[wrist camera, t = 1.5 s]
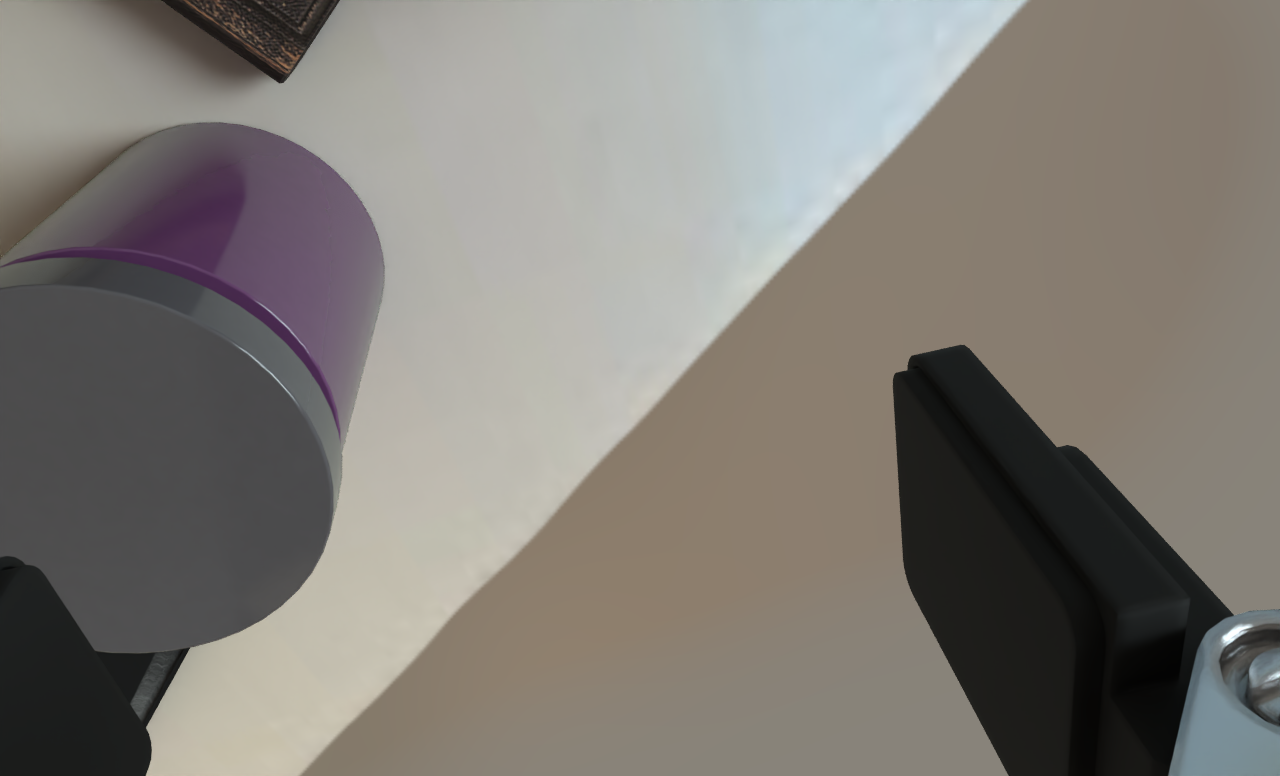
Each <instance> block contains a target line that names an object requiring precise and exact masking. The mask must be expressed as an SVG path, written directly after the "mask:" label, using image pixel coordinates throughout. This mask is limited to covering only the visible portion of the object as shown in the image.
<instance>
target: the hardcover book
mask: <svg viewBox="0 0 1280 776" xmlns="http://www.w3.org/2000/svg"><path fill="white" fill-rule="evenodd" d="M161 1H163V2H164V3H166V4H167V5H169V6H170V7H171V8H173V9H174V10H176V11H177V12H179V13H180V14H181V15H183V16H184V17H186V18H187V19H189V20H190V21H191V22H193V23H194V24H196V25H197V26H199V27H200V28H201V29H203V30H204V31H206V32H207V33H209V34H210V35H211V36H213V37H214V38H216V39H217V40H219V41H220V42H221V43H223V44H224V45H226V46H227V47H229V48H230V49H231V50H233V51H234V52H236V53H237V54H239V55H240V56H241V57H243V58H244V59H246V60H247V61H248V62H250V63H251V64H253V65H254V66H256V67H257V68H258V69H260V70H261V71H263V72H264V73H266V74H267V75H268V76H270V77H271V78H273V79H274V80H276V81H277V82H278V83H284V82H285V81H286V79H287V78H288V77H289V76H290V74H291V73H292V72H293V70H294V69H295V67H296V66H297V65H298V63H299V62H300V60H301V59H302V57H303V56H304V54H305V53H306V51H307V50H308V48H309V47H310V45H311V44H312V42H313V41H314V39H315V38H316V36H317V34H318V33H319V31H320V30H321V28H322V27H323V25H324V24H325V22H326V21H327V19H328V18H329V16H330V15H331V13H332V12H333V10H334V8H335V7H336V5H337V4H338V2H339V1H340V0H161Z"/></svg>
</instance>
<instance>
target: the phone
mask: <svg viewBox="0 0 1280 776" xmlns="http://www.w3.org/2000/svg"><path fill="white" fill-rule="evenodd" d="M189 649H190V648H184V649H178V650H172V651H164V652H150V653H110V652H101V651H95V652H96V653H97V655H98V656H99V658H100V659H101V661H102V662H103V664H104V665H105V667H106V668H107V670H108V671H109V673H110V674H111V676H112V677H113V679H114V680H115V682H116V684H117V685H118V687H119V688H120V690H121V691H122V693H123V694H124V696H125V697H126V699H127V700H128V702H129V703H130V705H131V706H132V708H133V709H134V711H135V712H136V714H137V715H138V717H139V718H140V720H141V721H142V723H143V724H144V726H145V727H146V726H147V725H148V723H149V721H150V719H151V717H152V716H153V714H154V712H155V710H156V708H157V707H158V705H159V703H160V701H161V699H162V698H163V696H164V694H165V692H166V690H167V689H168V687H169V685H170V683H171V681H172V680H173V678H174V676H175V674H176V672H177V671H178V669H179V667H180V665H181V663H182V662H183V660H184V658H185V656H186V654H187V653H188V651H189Z"/></svg>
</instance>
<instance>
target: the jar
mask: <svg viewBox="0 0 1280 776" xmlns="http://www.w3.org/2000/svg"><path fill="white" fill-rule="evenodd" d="M383 289H384V261H383V253H382V249H381V245H380V241H379V237H378V234H377V232H376V229H375V227H374V225H373V222H372V220H371V218H370V216H369V214H368V212H367V211H366V209H365V207H364V205H363V204H362V202H361V201H360V199H359V198H358V197H357V195H356V194H355V193H354V191H353V190H352V189H351V187H350V186H349V185H348V184H347V183H346V182H345V181H344V180H343V179H342V178H341V177H340V176H339V175H338V173H337V172H336V171H334V170H333V169H332V168H331V167H330V166H328V165H327V164H326V163H325V162H323V161H322V160H321V159H320V158H318V157H317V156H315V155H314V154H312V153H311V152H309V151H308V150H306V149H304V148H303V147H301V146H299V145H297V144H295V143H293V142H291V141H289V140H287V139H285V138H283V137H281V136H278V135H275V134H272V133H269V132H267V131H264V130H261V129H256V128H252V127H248V126H243V125H237V124H228V123H196V124H189V125H182V126H177V127H173V128H170V129H166V130H163V131H160V132H157V133H155V134H153V135H151V136H149V137H146V138H144V139H142V140H141V141H139V142H137V143H136V144H134V145H133V146H131V147H130V148H128V149H127V150H125V151H124V152H123V153H122V154H121V155H120V156H118V157H117V158H116V159H115V160H114V161H113V162H111V163H110V164H109V165H108V166H107V167H106V168H104V169H103V170H102V171H101V172H100V173H99V174H97V175H96V176H95V177H94V178H93V179H92V180H91V181H89V182H88V183H87V184H86V185H85V186H84V187H82V188H81V189H80V190H79V191H78V192H77V193H75V194H74V195H73V196H72V197H71V198H70V199H68V200H67V201H66V202H65V203H64V204H63V205H61V206H60V207H59V208H58V209H57V210H56V211H54V212H53V213H52V214H51V215H50V216H49V217H47V218H46V219H45V220H44V221H43V222H42V223H40V224H39V225H38V226H37V227H36V228H35V229H33V230H32V231H31V232H30V233H29V234H28V235H27V236H25V237H24V238H23V239H22V240H21V241H20V242H18V243H17V244H16V245H15V246H14V247H13V248H11V249H10V250H9V251H8V252H7V253H6V254H4V255H3V256H2V257H1V258H0V557H4V556H12V557H16V558H18V559H19V560H21V561H23V562H24V564H25V565H33V566H35V567H37V568H39V569H40V570H41V571H42V572H43V573H44V574H45V576H46V577H47V579H48V580H49V582H50V583H51V585H52V586H53V588H54V590H55V591H56V593H57V594H58V596H59V597H60V599H61V600H62V602H63V603H64V605H65V606H66V608H67V609H68V611H69V612H70V614H71V615H72V617H73V618H74V620H75V621H76V623H77V624H78V626H79V627H80V629H81V630H82V632H83V633H84V635H85V637H86V638H87V640H88V641H89V643H90V644H91V646H92V647H93V649H94V650H95V651H101V652H110V653H150V652H164V651H172V650H178V649H184V648H190V647H195V646H199V645H202V644H206V643H209V642H213V641H217V640H220V639H222V638H225V637H227V636H230V635H232V634H235V633H238V632H240V631H242V630H244V629H246V628H248V627H250V626H252V625H253V624H255V623H257V622H259V621H261V620H263V619H264V618H265V617H267V616H268V615H270V614H271V613H272V612H274V611H275V610H277V609H278V608H279V607H281V606H282V605H283V604H284V603H285V602H286V601H287V600H288V599H289V598H291V597H292V596H293V595H294V594H295V593H296V592H297V591H298V590H299V589H300V588H301V586H302V585H303V584H304V582H305V581H306V580H307V579H308V577H309V576H310V575H311V573H312V572H313V570H314V568H315V567H316V565H317V563H318V561H319V559H320V558H321V556H322V554H323V551H324V549H325V546H326V543H327V540H328V537H329V534H330V531H331V527H332V523H333V519H334V515H335V511H336V507H337V503H338V499H339V493H340V487H341V481H342V451H343V448H344V444H345V440H346V436H347V432H348V428H349V424H350V421H351V417H352V413H353V409H354V405H355V401H356V397H357V394H358V390H359V386H360V382H361V378H362V374H363V371H364V367H365V363H366V359H367V355H368V351H369V347H370V344H371V340H372V336H373V332H374V328H375V324H376V320H377V317H378V313H379V309H380V305H381V301H382V295H383Z"/></svg>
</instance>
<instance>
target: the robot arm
mask: <svg viewBox="0 0 1280 776" xmlns="http://www.w3.org/2000/svg"><path fill="white" fill-rule="evenodd" d="M893 394H894V412H895V429H896V444H897V445H896V446H897V463H898V480H899V497H900V514H901V531H902V547H903V562H904V569H905V574H906V577H907V581H908V583H909V586H910V589H911V591H912V594H913V596H914V598H915V600H916V601H917V603H918V605H919V607H920V609H921V611H922V613H923V615H924V616H925V618H926V620H927V622H928V624H929V626H930V628H931V630H932V632H933V634H934V636H935V637H936V639H937V641H938V643H939V645H940V647H941V649H942V651H943V652H944V654H945V656H946V658H947V660H948V662H949V664H950V666H951V667H952V670H953V671H954V673H955V675H956V677H957V679H958V681H959V683H960V685H961V686H962V688H963V690H964V692H965V694H966V696H967V698H968V700H969V702H970V704H971V705H972V707H973V709H974V711H975V713H976V715H977V717H978V718H979V721H980V722H981V724H982V726H983V728H984V730H985V732H986V734H987V736H988V737H989V739H990V741H991V743H992V745H993V747H994V749H995V750H996V753H997V755H998V756H999V758H1000V760H1001V762H1002V764H1003V766H1004V768H1005V770H1006V771H1007V773H1008V775H1009V776H1280V609H1278V610H1257V611H1248V612H1245V613H1242V614H1238V615H1235V616H1234V615H1233V614H1232V613H1231V611H1230V610H1229V609H1228V608H1227V607H1226V606H1225V605H1224V604H1223V603H1222V602H1221V601H1220V599H1218V597H1217V596H1216V595H1215V594H1214V593H1213V592H1212V591H1211V590H1210V589H1209V588H1208V587H1207V585H1206V584H1205V583H1204V582H1203V581H1202V580H1201V579H1200V578H1199V577H1198V576H1197V575H1196V574H1195V572H1194V571H1193V570H1192V569H1191V568H1190V567H1189V566H1188V565H1187V564H1186V563H1185V562H1184V561H1183V559H1182V558H1181V557H1180V556H1179V555H1178V554H1177V553H1176V552H1175V551H1174V550H1173V549H1172V548H1171V546H1169V544H1168V543H1167V542H1166V541H1165V540H1164V539H1163V538H1162V537H1161V536H1160V535H1159V534H1158V532H1157V531H1156V530H1155V529H1154V528H1153V527H1152V526H1151V525H1150V524H1149V523H1148V522H1147V520H1146V519H1145V518H1144V517H1143V516H1142V515H1141V514H1140V513H1139V512H1138V511H1137V510H1136V509H1135V507H1134V506H1133V505H1132V504H1131V503H1130V502H1129V501H1128V500H1127V499H1126V498H1125V497H1124V496H1123V494H1122V493H1121V492H1120V491H1119V490H1118V489H1117V488H1116V487H1115V486H1114V485H1113V484H1112V483H1111V481H1110V480H1109V479H1108V478H1107V477H1106V476H1105V475H1104V474H1103V473H1102V472H1101V471H1100V470H1099V468H1097V467H1096V465H1095V464H1094V463H1093V462H1092V461H1091V460H1090V459H1089V458H1088V457H1087V456H1086V455H1085V454H1084V453H1083V452H1082V451H1080V450H1079V449H1078V448H1077V447H1073V446H1069V445H1066V446H1062V447H1056V446H1055V445H1054V444H1053V442H1052V441H1051V440H1050V439H1049V438H1048V437H1047V436H1046V435H1045V433H1043V431H1042V430H1041V429H1040V428H1039V427H1038V426H1037V424H1036V423H1035V422H1034V421H1033V420H1032V419H1031V418H1030V417H1029V415H1028V414H1027V413H1026V412H1025V411H1024V410H1023V409H1022V408H1021V406H1020V405H1019V404H1018V403H1017V402H1016V401H1015V400H1014V398H1013V397H1012V396H1011V395H1010V394H1009V393H1008V392H1007V391H1006V389H1005V388H1004V387H1003V386H1002V385H1001V384H1000V383H999V382H998V380H997V379H996V378H995V377H994V376H993V375H992V374H991V373H990V371H989V370H988V369H987V368H986V367H985V366H984V365H983V364H982V362H981V361H980V360H979V359H978V358H977V357H976V356H975V355H974V353H973V352H972V351H971V350H970V349H969V348H968V347H966V346H965V345H958V346H954V347H949V348H944V349H940V350H935V351H931V352H926V353H922V354H918V355H913V356H911V357H910V359H909V362H908V370H907V371H902V372H898V373H895V375H894V378H893ZM151 752H152V749H151V740H150V737H149V733H148V731H147V729H146V727H145V726H144V724H143V723H142V721H141V720H140V718H139V717H138V715H137V714H136V712H135V711H134V709H133V708H132V706H131V705H130V703H129V702H128V700H127V699H126V697H125V696H124V694H123V693H122V691H121V690H120V688H119V687H118V685H117V684H116V682H115V680H114V679H113V677H112V676H111V674H110V673H109V671H108V670H107V668H106V667H105V665H104V664H103V662H102V661H101V659H100V658H99V656H98V655H97V653H96V652H95V650H94V649H93V647H92V646H91V644H90V643H89V641H88V640H87V638H86V637H85V635H84V633H83V632H82V630H81V629H80V627H79V626H78V624H77V623H76V621H75V620H74V618H73V617H72V615H71V614H70V612H69V611H68V609H67V608H66V606H65V605H64V603H63V602H62V600H61V599H60V597H59V596H58V594H57V593H56V591H55V590H54V588H53V586H52V585H51V583H50V582H49V580H48V579H47V577H46V576H45V574H44V573H43V572H42V571H41V570H40V569H39V568H37V567H35V566H33V565H25V564H24V562H23V561H21V560H19V559H18V558H16V557H12V556H4V557H0V776H146V773H147V770H148V768H149V765H150V761H151Z"/></svg>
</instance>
